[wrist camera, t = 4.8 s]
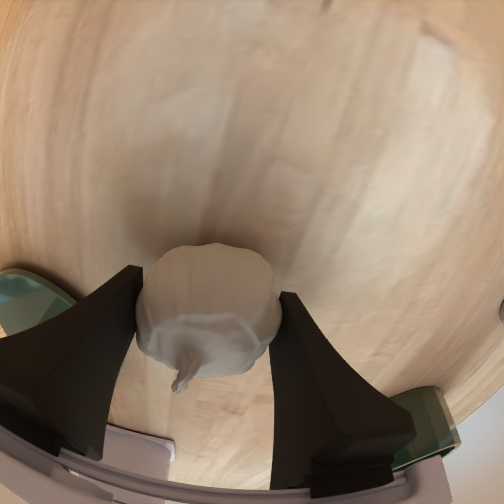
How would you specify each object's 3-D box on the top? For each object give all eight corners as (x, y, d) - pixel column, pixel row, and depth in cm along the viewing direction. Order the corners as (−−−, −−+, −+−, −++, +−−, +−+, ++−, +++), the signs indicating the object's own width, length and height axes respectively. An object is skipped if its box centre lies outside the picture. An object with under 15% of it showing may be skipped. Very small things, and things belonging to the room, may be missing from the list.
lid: (25, 353, 17) (5, 392, 13) (-18, 248, 11) (-58, 289, 7) (132, 391, 18) (118, 442, 14) (110, 284, 13) (71, 354, 9)
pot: (330, 439, 23) (338, 492, 18) (381, 391, 18) (401, 461, 13) (403, 429, 24) (415, 473, 19) (458, 381, 19) (480, 432, 14)
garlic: (198, 337, 14) (184, 424, 10) (126, 264, 12) (78, 351, 7) (301, 290, 13) (322, 387, 8) (234, 193, 10) (223, 275, 6)
